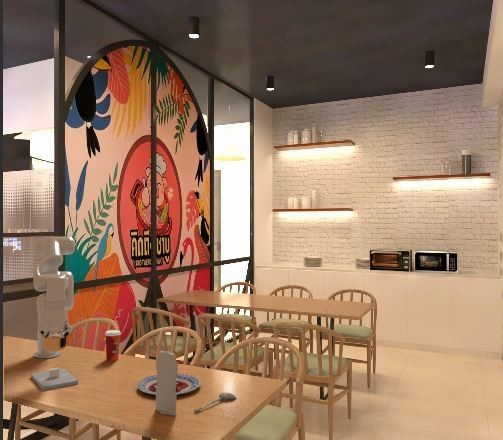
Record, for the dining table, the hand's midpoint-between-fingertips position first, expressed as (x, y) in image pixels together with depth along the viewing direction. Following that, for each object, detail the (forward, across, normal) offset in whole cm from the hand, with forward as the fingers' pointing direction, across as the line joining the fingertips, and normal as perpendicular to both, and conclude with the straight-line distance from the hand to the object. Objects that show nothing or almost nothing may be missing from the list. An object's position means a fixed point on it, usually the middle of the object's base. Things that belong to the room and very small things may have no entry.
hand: (55, 346), depth 200 cm
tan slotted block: (+1, 0, 0) cm, 1 cm away
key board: (+15, 0, 0) cm, 15 cm away
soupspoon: (+16, +73, -12) cm, 76 cm away
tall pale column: (+16, +58, -23) cm, 64 cm away
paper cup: (+15, +10, +34) cm, 39 cm away
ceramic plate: (+16, +51, +1) cm, 53 cm away
